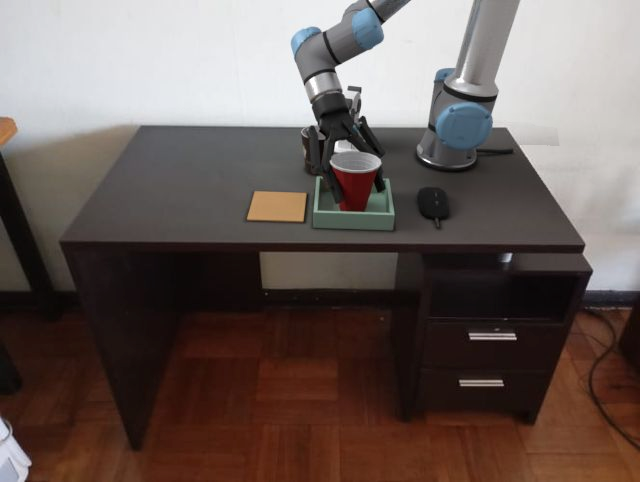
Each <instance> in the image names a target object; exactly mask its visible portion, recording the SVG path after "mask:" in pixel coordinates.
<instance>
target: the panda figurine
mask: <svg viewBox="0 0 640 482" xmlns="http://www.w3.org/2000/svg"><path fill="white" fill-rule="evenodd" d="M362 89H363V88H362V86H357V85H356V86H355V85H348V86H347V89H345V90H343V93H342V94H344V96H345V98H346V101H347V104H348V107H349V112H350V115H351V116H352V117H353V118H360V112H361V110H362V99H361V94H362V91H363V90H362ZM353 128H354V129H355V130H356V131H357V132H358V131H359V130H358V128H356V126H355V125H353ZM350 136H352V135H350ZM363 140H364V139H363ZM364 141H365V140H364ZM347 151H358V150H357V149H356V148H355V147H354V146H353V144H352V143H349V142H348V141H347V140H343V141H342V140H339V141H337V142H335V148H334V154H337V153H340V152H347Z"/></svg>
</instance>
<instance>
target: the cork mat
mask: <svg viewBox="0 0 640 482" xmlns="http://www.w3.org/2000/svg"><path fill="white" fill-rule="evenodd" d="M253 192H254V193H253V195H252V200H251V204H250V207H249V211H248V214H247V218H246V221H247V222H273V223H300V224H301V223H302V224H303V223H304V220H305V213H306V212H305V211H306V203H307V192H294V191H293V192H292V191H265V190H263V191H262V190H255V191H253Z"/></svg>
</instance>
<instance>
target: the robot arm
mask: <svg viewBox="0 0 640 482" xmlns="http://www.w3.org/2000/svg"><path fill="white" fill-rule="evenodd" d="M411 1H412V0H357V1H356V2H353V3H351V4H350V5H348V7H347V8H346V9H344V12H343V14H342V16H341V17H342V18H341V20H340V22H338V23H336V24H335V25H333V26H332V27H330V28H328V29H326V30H324V31H322V29H321V28H319V27H318V26H308V27H307V28H301V29H300V30H298V31H296V32H295V34H294V35H293V36H292V37H291V40H290V47H291V51H292V55H293V59H294V62H295V65H296V67H297V70H298V72H299V76H300V78H301V81H302V84H303V87H304V89H305V93H306V95H307V99H308V101H309V104H310V105H311V110H312V113H313V116H314V118H315V121H316V122H317V124H316V125H317V126H313V125H312V124H311V125H309V126H310V127H309V128H308V129H307V131H306V134H307V137H308V139H309V145H310V159H311V172H312V174H319V175H318V176H320V177H323V180H324V183H325V186H326V188H327V189H331V192H332V195H333V198H334V201H335V204H339V203H340V202H341V201H343V200H344V199H343V196H342V193H341V190H340V188H339V185H338V182H337V179H336V176H335V173H334V170H333V169H332V170H331V171H330V172H329V169H330V160H331V157H332V151H333V144H334V142H337V141H339V140H342V141H343V140H347V141H348V142H349V143H352V144H353V146H354V147H355V148H356V149H357V150H358V151H359V152H365V153H369V154H372V155H375V156H377V157H378V158H379V159H380V160H381V158H383V157H384V156H385V155H386V151H385V149H384V148H383V146H382V144H381V143H380V142H379V140H378V138H377V137H376V135H375V133H373V131H372V129H371V128H370V126H369V124H368V121H367V117H366V116H365V115H361V116H359V118H353V117H352V116H351V115H350V112H349V107H348V104H347V101H346V98H345V96H344V94H342V93H343V92H344V89H343V87H342V84H341V81H340V80H339V79H340V78H339V77H338V73H337V70H336V68H337V67H338V66H340V65H342V64H344V63H346V62H348V61H349V60H351V59H354V58H355V57H358V56H360V55H361V54H364V53H365V52H368V51H371V50H372V49H373V48H374V47H377V46H378V45H380V44H381V43H382V42H383V41H384V39H385V33H384V29H383V25H384V24H385V23H386V22H387V21H388V20H389V19H390V18H392V17H393V16H394V15H395V14H397V13H398V12H399V11H400V10H401V9H402V8H404V7H405V6H406V5H408V4H409V3H410V2H411ZM520 3H521V0H473V1H472V5H471V8H470V12H469V15H468V19H467V24H466V27H465V31H464V35H463V38H462V41H461V44H460V45H461V46H460V49H459V52H458V56H457V59H456V64H455V67H444V68H440V69H438V70H437V71H436V72H435V76H434V80H433V90H432V95H431V101H430V109H429V113H428V114H429V117H428V122H427V127H426V130H425V132H424V134H423V136H422V138H421V140H420V142H419V143H417V146H416V159H417V161H418V162H420V163H421V164H422V165H423V166H426V167H428V168H431V169H434V170H438V171H442V172H443V171H444V172H462V171H466V170H469V169H471V168H473V167H474V166H475V164H476V160H477V154H480V153H481V154H510V153H514V148H505V149H504V148H503V149H497V148H496V149H492V148H477V147H480V146H482V145H483V144H484V143H485V142H486V141H487V140H488V139H489V138H490V136H491V133H492V131H493V123H494V117H493V116H492V114H493V111H494V108H495V105H496V103H497V99H498V95H499V93H500V89H499V87H498V86H497V84H496V79H497V75H498V71H499V68H500V66H501V62H502V59H503V55H504V53H505V49H506V46H507V43H508V40H509V37H510V34H511V31H512V28H513V25H514V21H515V18H516V15H517V12H518V9H519V6H520ZM353 125H355V126H356V128H358V130H357V131H356V130H355V129H354V128H353ZM319 132H320V133H321V134H323V135H324V136H325V141H324V151H323V157H322V163H321V165H320V151H319V138H318V135H319ZM350 135H352V136H350ZM364 140H365V141H364ZM312 174H311V175H312ZM383 175H384V169H383V167H382V165H381V166H380V167H379V168H378V171H377V173H376V176H375V179H374V184H375V187H376V190H377V193H380V192H382V191H383V190H385V189H386V186H385V184H384V181H383V179H384V178H383Z"/></svg>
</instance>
